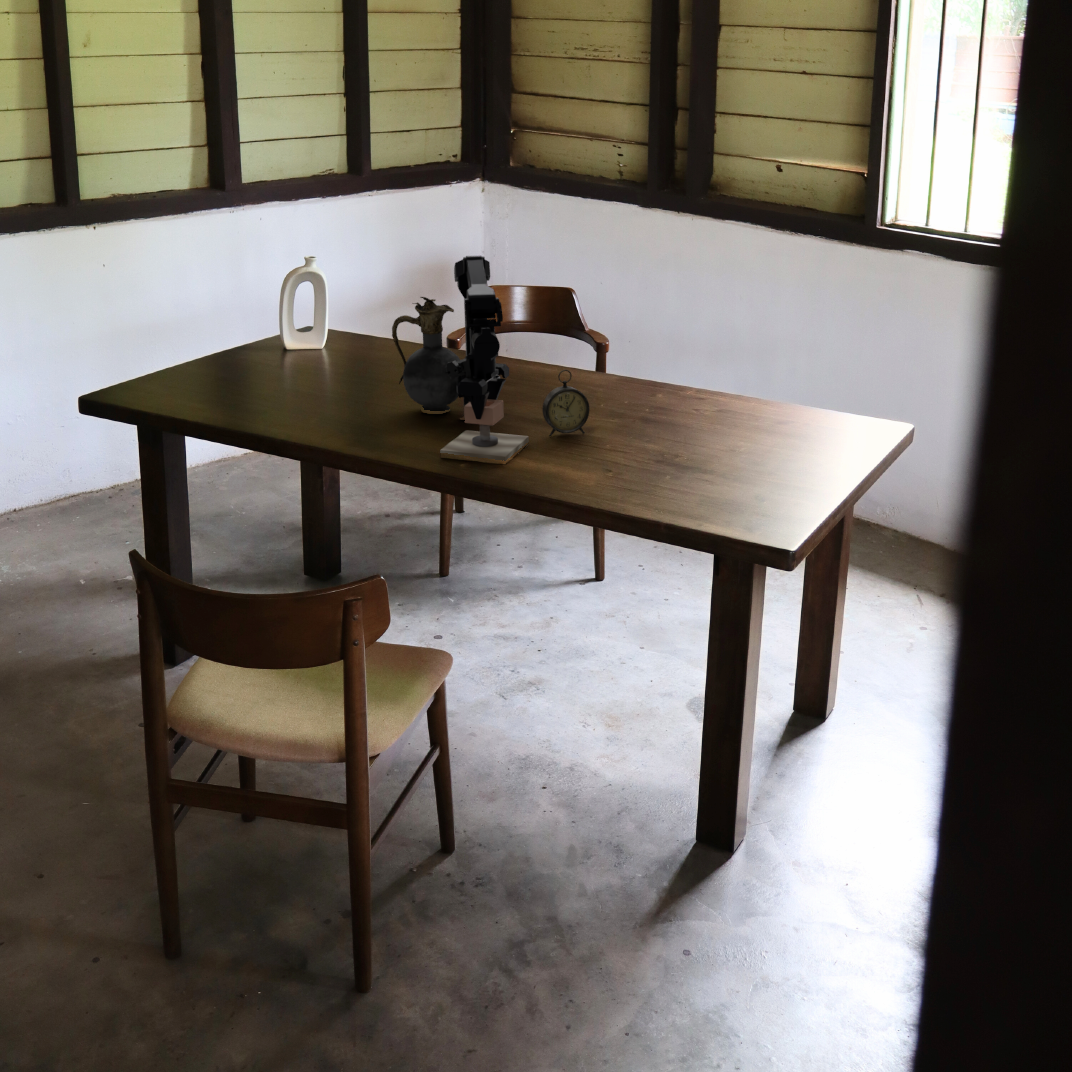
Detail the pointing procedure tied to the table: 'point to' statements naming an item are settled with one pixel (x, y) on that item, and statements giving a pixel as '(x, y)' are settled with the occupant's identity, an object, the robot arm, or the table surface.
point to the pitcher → (428, 360)
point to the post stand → (485, 444)
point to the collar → (485, 413)
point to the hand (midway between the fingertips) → (484, 414)
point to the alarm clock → (565, 408)
